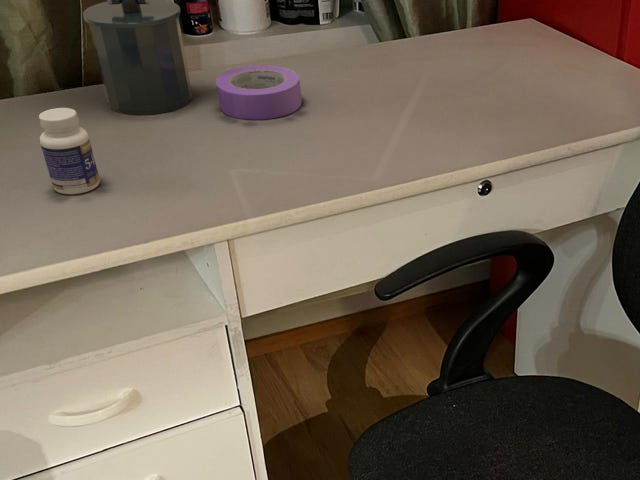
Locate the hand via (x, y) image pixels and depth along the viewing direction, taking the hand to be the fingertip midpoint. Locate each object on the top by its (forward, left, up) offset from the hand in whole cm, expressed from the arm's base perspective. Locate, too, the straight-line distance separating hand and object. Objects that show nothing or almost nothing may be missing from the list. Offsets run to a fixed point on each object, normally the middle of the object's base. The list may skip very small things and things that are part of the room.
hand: (130, 3), depth 118 cm
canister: (0, 0, -14) cm, 14 cm away
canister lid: (0, 0, -2) cm, 2 cm away
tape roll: (+16, -3, -14) cm, 21 cm away
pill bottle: (-4, -28, -14) cm, 31 cm away
